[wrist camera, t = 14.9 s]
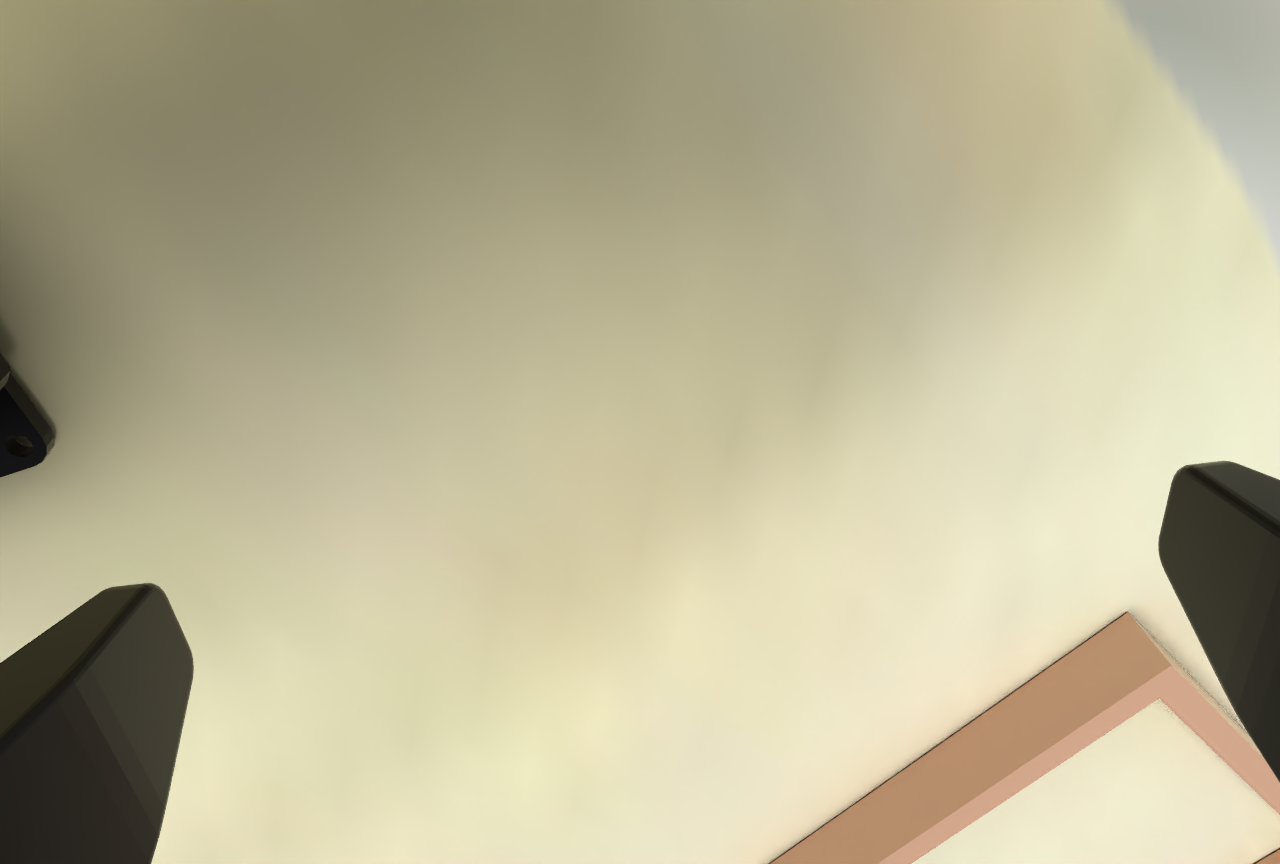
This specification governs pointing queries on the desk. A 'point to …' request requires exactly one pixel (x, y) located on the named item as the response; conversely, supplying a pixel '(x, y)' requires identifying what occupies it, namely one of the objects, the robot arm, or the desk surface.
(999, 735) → the pink square frame
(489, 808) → the desk surface
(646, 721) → the desk surface
